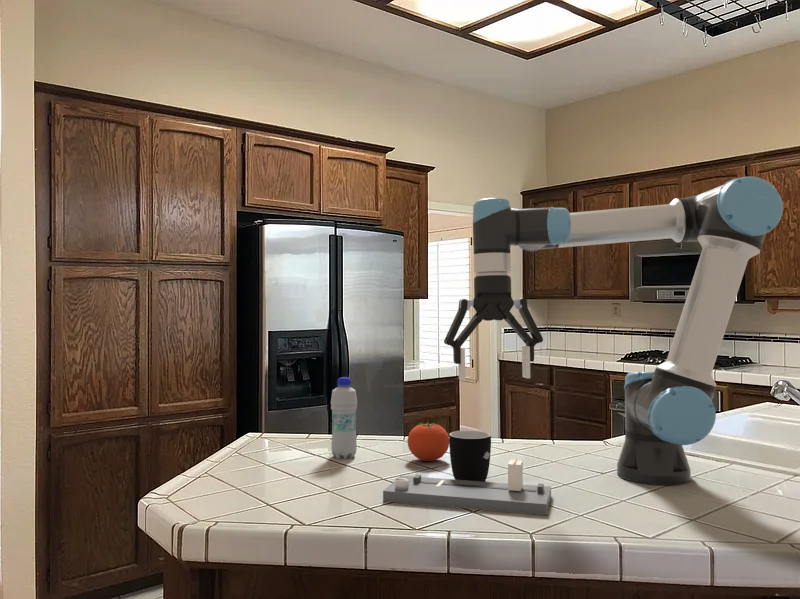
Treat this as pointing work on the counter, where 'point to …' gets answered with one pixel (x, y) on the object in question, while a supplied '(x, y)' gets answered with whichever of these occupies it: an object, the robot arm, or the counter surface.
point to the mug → (470, 455)
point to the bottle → (344, 419)
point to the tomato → (428, 441)
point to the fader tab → (515, 475)
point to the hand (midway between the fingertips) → (494, 379)
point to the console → (469, 494)
